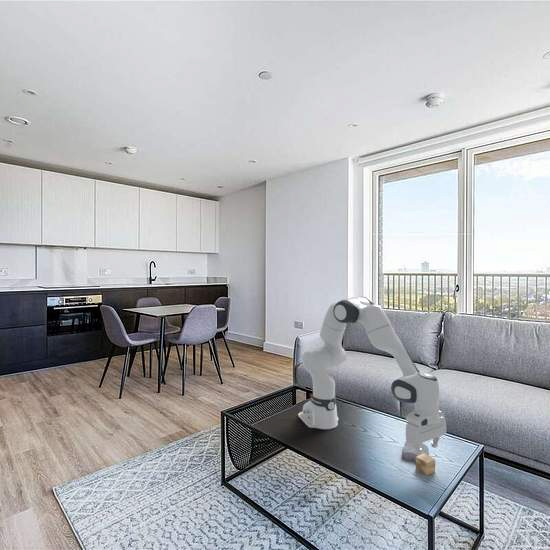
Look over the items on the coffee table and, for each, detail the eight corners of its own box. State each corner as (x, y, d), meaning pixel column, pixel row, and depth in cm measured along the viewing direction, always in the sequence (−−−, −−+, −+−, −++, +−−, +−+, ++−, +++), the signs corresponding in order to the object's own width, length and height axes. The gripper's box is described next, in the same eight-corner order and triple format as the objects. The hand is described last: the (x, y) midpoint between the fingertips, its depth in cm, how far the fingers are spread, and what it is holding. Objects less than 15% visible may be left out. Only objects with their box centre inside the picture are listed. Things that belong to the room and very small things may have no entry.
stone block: (428, 455, 151) (404, 445, 156) (431, 445, 151) (407, 435, 155) (424, 470, 141) (399, 458, 146) (427, 459, 140) (402, 448, 145)
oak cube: (415, 469, 138) (416, 456, 138) (423, 465, 141) (424, 453, 140) (426, 475, 134) (427, 462, 134) (435, 471, 136) (435, 459, 136)
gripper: (436, 407, 144) (436, 440, 144) (402, 417, 134) (402, 453, 134) (450, 412, 139) (450, 446, 139) (416, 423, 129) (416, 460, 129)
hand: (426, 450), depth 136 cm, fingers open, 8 cm apart
